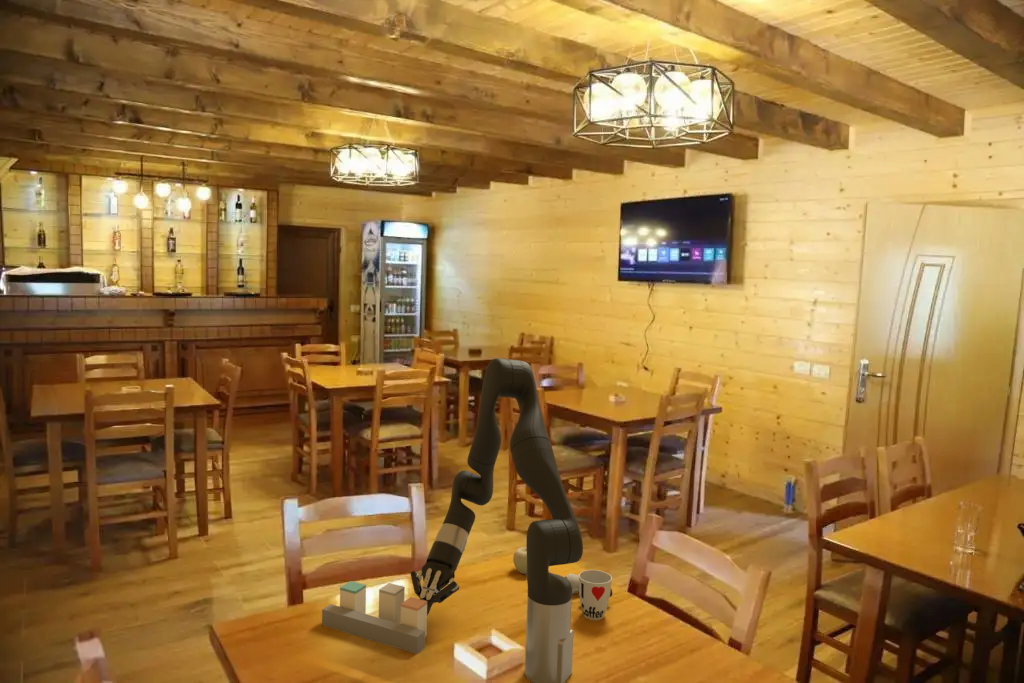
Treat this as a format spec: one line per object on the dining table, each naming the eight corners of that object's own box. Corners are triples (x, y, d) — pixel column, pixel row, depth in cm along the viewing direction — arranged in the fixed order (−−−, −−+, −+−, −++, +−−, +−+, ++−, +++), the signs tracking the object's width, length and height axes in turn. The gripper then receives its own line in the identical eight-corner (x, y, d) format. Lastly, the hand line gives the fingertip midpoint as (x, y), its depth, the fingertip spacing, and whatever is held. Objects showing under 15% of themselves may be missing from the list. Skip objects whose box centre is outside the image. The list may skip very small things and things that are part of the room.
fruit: (544, 572, 199) (545, 545, 199) (525, 579, 194) (526, 551, 194) (525, 564, 205) (526, 537, 204) (507, 570, 200) (508, 543, 199)
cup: (572, 618, 173) (574, 579, 172) (583, 605, 180) (585, 567, 179) (604, 626, 170) (606, 586, 169) (614, 612, 177) (616, 573, 176)
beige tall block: (403, 620, 167) (404, 586, 166) (394, 627, 163) (394, 593, 163) (388, 615, 169) (389, 582, 168) (378, 623, 165) (379, 589, 164)
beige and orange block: (426, 635, 160) (427, 601, 159) (416, 643, 157) (417, 608, 156) (410, 631, 162) (410, 596, 161) (400, 639, 158) (400, 603, 158)
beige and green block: (365, 618, 167) (365, 584, 167) (354, 625, 164) (355, 591, 163) (350, 613, 169) (350, 580, 168) (339, 621, 166) (340, 587, 165)
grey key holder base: (454, 626, 167) (454, 606, 167) (417, 659, 153) (417, 637, 152) (364, 602, 178) (364, 583, 178) (322, 630, 164) (322, 609, 163)
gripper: (419, 535, 171) (389, 604, 161) (467, 545, 166) (438, 617, 156) (430, 548, 177) (402, 616, 167) (477, 559, 171) (450, 630, 161)
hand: (419, 617), depth 161 cm, fingers closed
